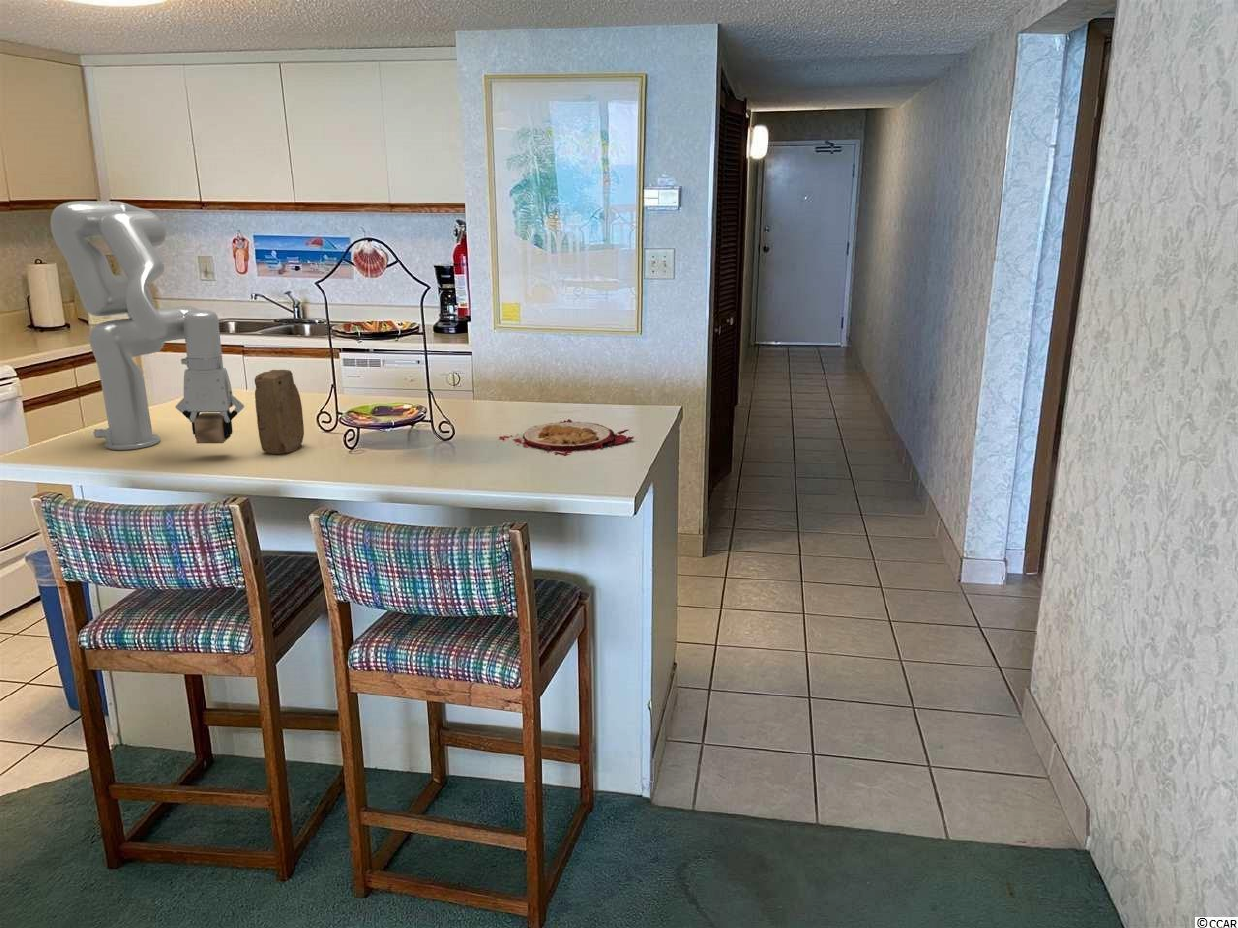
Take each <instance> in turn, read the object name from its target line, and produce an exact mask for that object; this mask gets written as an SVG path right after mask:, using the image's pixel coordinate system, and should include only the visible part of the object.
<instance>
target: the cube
mask: <svg viewBox="0 0 1238 928" xmlns="http://www.w3.org/2000/svg"><path fill="white" fill-rule="evenodd" d="M223 423H224V418H223V417H222V415H221V413H220V412H200V414H199V416H197V417H196V418H195V419H194V425H195V434H196V438H195V440H196V441H195V442H196V444H224V443H225V442H226V441H227V440H228V439H229V438H227V439H225V438H224V429H223ZM195 434H194V435H195Z"/></svg>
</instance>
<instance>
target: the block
mask: <svg viewBox="0 0 1238 928" xmlns="http://www.w3.org/2000/svg"><path fill="white" fill-rule="evenodd" d="M253 380H254V384H255V391H254V396H255V397H254V398H255V401H254V403H255V412H256V421H257V423H256V424H257V430H258V437H259V443H260V446H261V450H262V451H263V452H264V453H268V454H272V455H282V454H283V455H284V454H289V453H293V452H296V451H297V450H298V449H299V448H300V447H301V446H302V443H303V440H304V435H305V427H304V417H303V416H304V415H303V405H302V401H301V400H302V399H301V396H300V393H299V390H298V387H297V384H295V381H294V376H293V372H292V371H291V370H289V369H271V370H268V371H263V372H262V373H259V374H258V375H256V376H255V378H254V379H253Z"/></svg>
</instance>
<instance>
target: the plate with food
mask: <svg viewBox="0 0 1238 928" xmlns="http://www.w3.org/2000/svg"><path fill="white" fill-rule="evenodd" d="M629 431H630V429H624V430H619V431H618V432H616V433H615V432H614V430H612V429H611V428H608V427H606V426H604V425H602V424H599V423H596V422H595V423H594V422H586V421H585V422H584V421H583V422H582V421H574V422H573V421H572V420H571V419H569V418H568V419H567V420H563V421H559V422H550V423H547V424H546V423H545V424H541V425H533V426H532V427H530V428H528V429H527V430H526V431H524V433H523V436H522V438H514V436H513V435H511V434H510V436H508V435H503V436H499V437H498V438H499V440H502V441H505V440H508V439H510V438H514V439H512V441H514V443H519V445H520V444H522V447H523V448H526V449H527V448H529V449H532V448H536V449H540V450H546V451H542V452H541V454H543V453H547V454H549V453H550V451H551V452H553V454H554V456H558V454H560V456H563V457H566V456H570V455H571V454H573V452H577V451H583V450H585V451H584V453H587V451H590V452H595V451H598V450H600V451H601V450H602V449H603V448H604V447H603V444H604V443H606V445H608V446H610V445H613V444H614V445H615V446H617V445H621V444H623V443H625V442H627V441H631V440H633V439H634V438H635V436H628V437H627V436H626V435H623V434H624V433H626V432H629ZM516 434H517V435H519V434H518V433H516ZM517 435H515V437H517ZM522 440H524V442H523V441H522ZM586 450H587V451H586Z"/></svg>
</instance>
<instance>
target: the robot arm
mask: <svg viewBox="0 0 1238 928" xmlns="http://www.w3.org/2000/svg"><path fill="white" fill-rule="evenodd" d="M50 228H51V230H50V231H51V234H52V236H53V239H54V241H55V244H56V245H57V248H58V249H59V251H60V252H61V254H62V256H63V257H64V259H65V261H66V262H67V265H68V268H69V270H70V272H71V273H70V274H71V275H72V278H73V281H74V284H75V287H76V289H77V293H78V295H79V298H80V300H81V302H82V305H83V308H84V309H85V311H86V312H87V313H89V314H90V315H91V316H95V317H108V316H116V315H124V314H127V317H128V318H121V319H119V318H118V319H111V320H107V321H103V322H100V323H99V322H98V323H97V324H95V325H94V326H93V327H92V328H91V329H90V331H89V334H88V342H89V346H90V348H91V352H92V354H93V356H94V358H95V362H96V365H97V368H98V369H97V370H98V373H99V379H100V383H101V388H102V389H101V390H102V396H103V401H104V406H105V413H106V418H107V424H108V427H107V428H104V429H103V428H97V429H95V428H94V429H93V436H94V438H96V439H103V438H104V439H105V441H104V446H105V448H106V449H108V450H115V451H116V450H117V451H125V450H126V451H127V450H137V449H143V448H147V447H151V446H154V445H157V444H158V443H160V442H161V437H160V435H159V434H155V433H153V428H152V422H151V415H150V409H149V408H150V407H149V403H148V394H147V391H146V390H147V389H146V385H145V384H146V383H145V378H144V374H143V372H142V370H141V368H140V367H139V365H138V364H137V363H136V362H135V361H134V360H133V358H134V357H138V356H144V355H151V354H154V353H155V354H156V353H158V352H159V351H161V350H162V349H163V347H164V346H165V343H166V342H171V341H172V342H173V341H177V340H184V342H185V349H186V350H185V352H186V357H185V358H181V360H180V361H181V362H180V363H181V365H186V367H187V368H185V369H184V373H183V397H182V399H180V401H179V402H178V403H177V404H176V405H175V409H176V410H177V411H179V413H181V414H183V416H184V417H185V418H186V419H188V420H189V422H190V423H191V428H192V433H193V435H194V437H195V439H196V434H195V425H194V419H195V418H196V417H197V416H199V415H200V414H201V413H221V415H222V417H223V418H224V423H223V429H224V438H225V439H227V438H228V439H229V438H230V437H231V435H232V434H233V432H234V431H233V421H232V420H233V419H234V418H235V417H236V416H237V415H239V413H240V412H241V411H242V410H243V409H244V408H245V405H244V404H243V403H242V402H241V401H240V400H239V399H238V398H236V397H235V396H234V395H233V389H232V384H231V379H230V376H229V374H228V373H229V372H228V371H227V368H226V367H224V363H223V354H222V353H223V352H222V344H221V342H222V341H221V333H220V323H219V317H218V313H216V312H215V311H212V310H209V309H208V310H207V309H199V308H197V307H193V306H188V305H187V306H186V305H183V306H177V307H176V306H175V307H165V308H159V309H157V307H156V303H155V301H154V298H153V295H152V293H151V291H150V288H149V287H148V284H151V283H152V282H154V281H155V280H157V279H158V278H159V277H160V276H162V274H163V273H164V271H165V264H164V262H163V260H162V258H161V257H160V256H159V254H158V252H157V250H156V249H155V248H154V247H158V246H160V245H162V244H163V243H164V242H165V241H166V236H167V232H166V231H167V230H166V228H165V225H164V223H163V221H162V220H161V218H160V217H159V216H158V215H156V213H154V212H152V211H150V210H148V209H145V208H141V207H139V206H136V205H133V204H132V205H131V204H129V203H126V202H122V201H116V200H115V201H110V200H109V201H104V200H103V201H100V200H97V201H94V200H93V201H92V200H91V201H90V200H82V201H81V200H79V201H69V202H64V203H61V204H59V205H58V206H56V207H55V208H54V209H53V211H52V212H51V216H50ZM90 238H103V240H104V242H105V243H106V245H107V246H108V248H109V250H110V251H111V253H112V254H113V257H114V258H115V259H116V261H117V263H118V264H119V266H120V267H121V270H123V272H124V273H125V274H119V275H115V274H114V273H113V271H112V268H111V266H110V264H109V260H108V258H107V256H106V255H105V253H104V252H103V251H102V250H101V249H100V248H99V246H97V245H96V244H94V243H93V242H92V241H91V240H90ZM233 406H234V409H233V410H232V411H231V410H230V408H233ZM228 439H227V440H228Z"/></svg>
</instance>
